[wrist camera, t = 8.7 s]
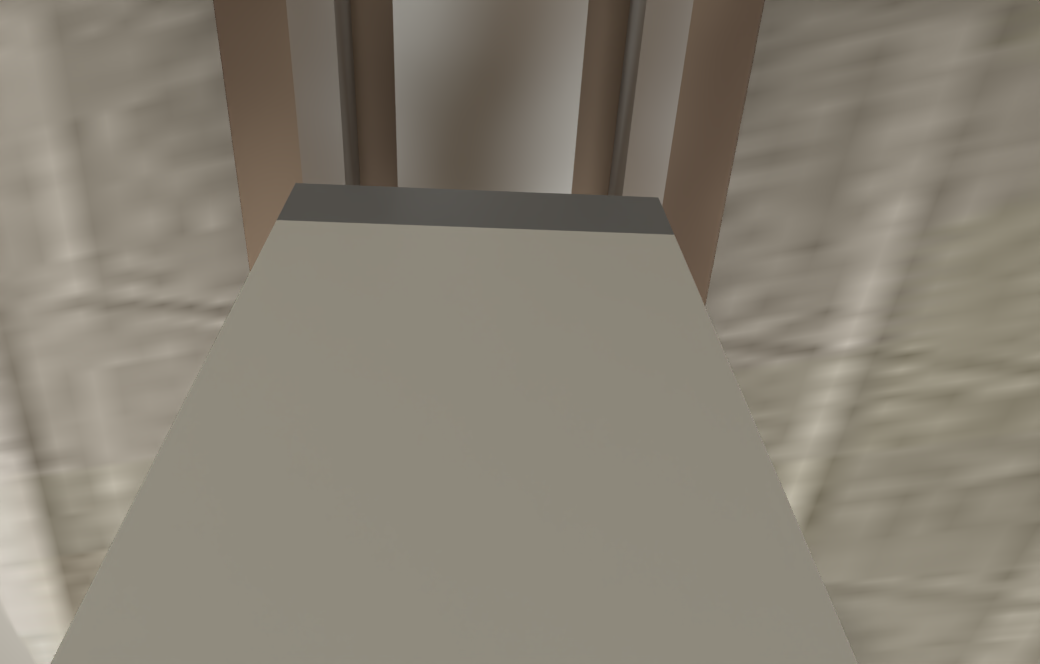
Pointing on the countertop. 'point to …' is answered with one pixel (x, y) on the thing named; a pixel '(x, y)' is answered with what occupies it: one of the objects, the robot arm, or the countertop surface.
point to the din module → (462, 457)
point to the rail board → (491, 101)
